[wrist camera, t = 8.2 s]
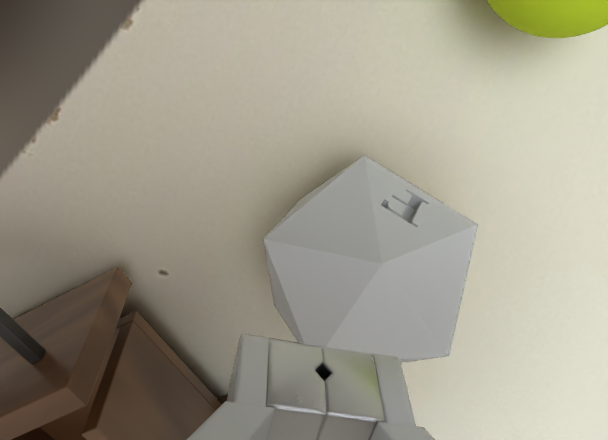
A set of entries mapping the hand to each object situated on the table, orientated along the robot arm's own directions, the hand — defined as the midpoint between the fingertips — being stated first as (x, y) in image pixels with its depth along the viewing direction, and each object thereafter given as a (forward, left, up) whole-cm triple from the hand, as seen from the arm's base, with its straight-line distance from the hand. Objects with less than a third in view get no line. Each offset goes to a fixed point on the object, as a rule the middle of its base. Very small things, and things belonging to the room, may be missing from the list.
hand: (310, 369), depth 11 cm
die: (+6, -5, -17) cm, 18 cm away
